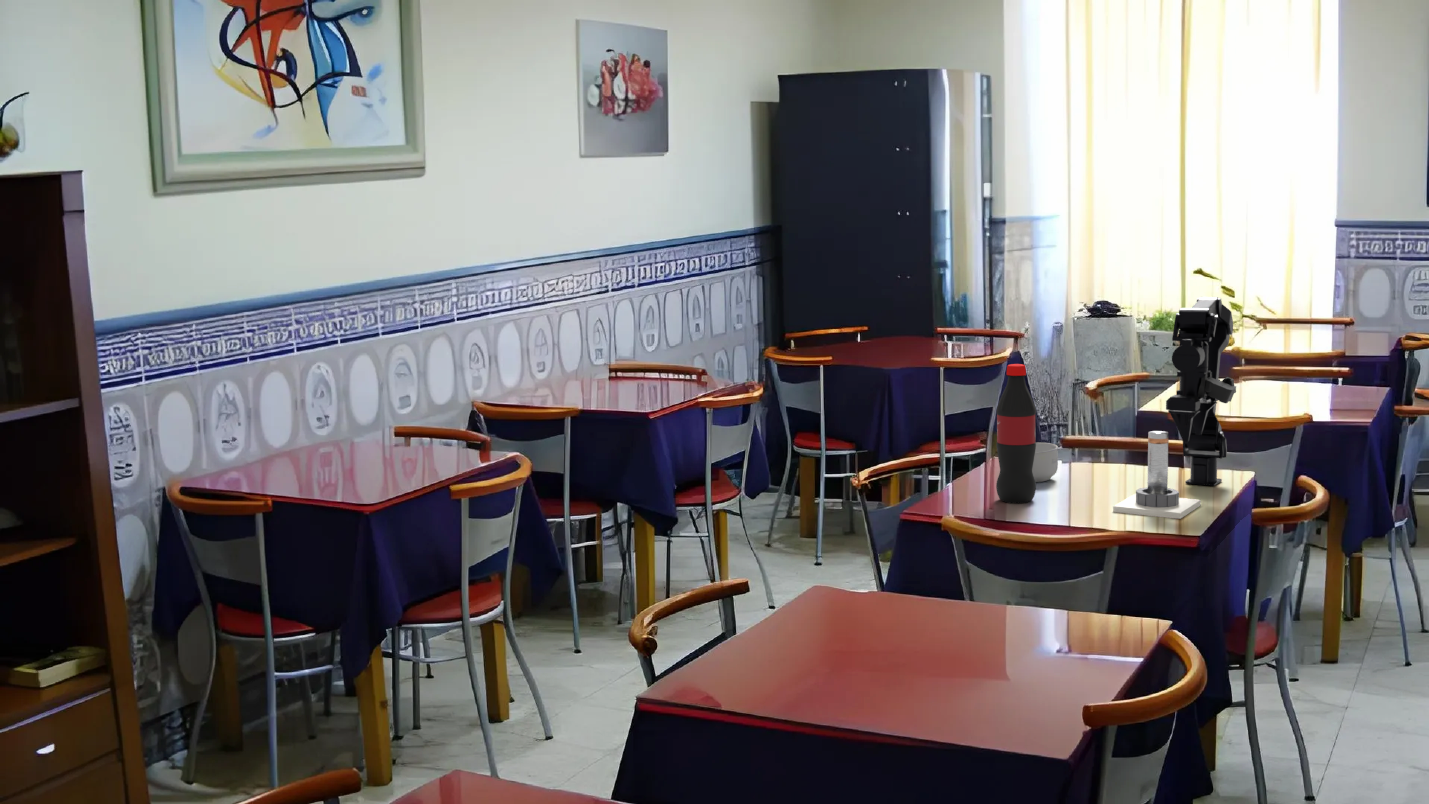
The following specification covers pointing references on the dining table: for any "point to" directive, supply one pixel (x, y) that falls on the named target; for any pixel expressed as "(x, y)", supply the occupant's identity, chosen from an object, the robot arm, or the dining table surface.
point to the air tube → (1157, 462)
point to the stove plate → (1157, 511)
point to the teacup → (1045, 461)
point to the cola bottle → (1016, 439)
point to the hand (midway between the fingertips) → (1192, 438)
